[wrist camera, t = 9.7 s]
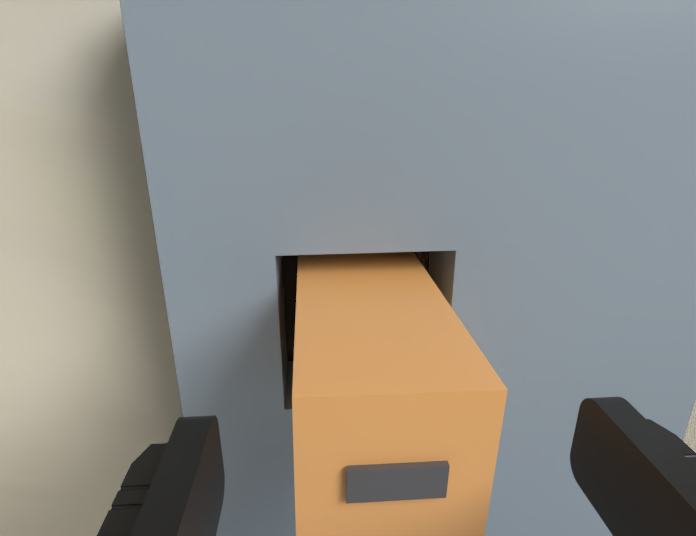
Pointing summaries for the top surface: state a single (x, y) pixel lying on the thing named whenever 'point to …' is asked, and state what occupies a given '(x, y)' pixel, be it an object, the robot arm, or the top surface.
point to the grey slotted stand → (427, 209)
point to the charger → (388, 403)
